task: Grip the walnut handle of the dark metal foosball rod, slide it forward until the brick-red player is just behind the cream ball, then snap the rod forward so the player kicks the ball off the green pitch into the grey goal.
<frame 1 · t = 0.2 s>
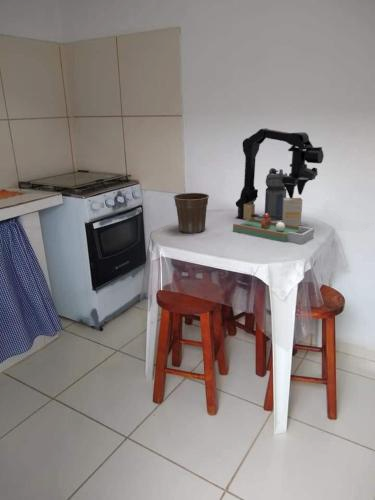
hand: (295, 196, 181), 14 cm above the table, tool pointing down, fingers open, 9 cm apart
beverage bottle: (273, 217, 203), on the table
ball: (280, 226, 172), point 4 cm above the table, touching pitch
plant pot: (191, 230, 185), on the table
pitch: (265, 232, 178), on the table
foosball rod: (256, 215, 178), point 7 cm above the table, slide at 0.0 cm
supplement box: (291, 226, 188), on the table
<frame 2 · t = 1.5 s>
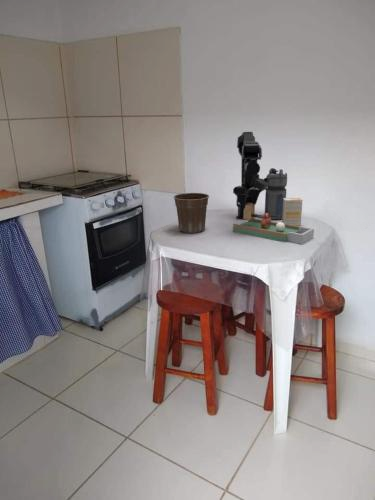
hand: (249, 206, 180), 11 cm above the table, tool pointing down, fingers open, 9 cm apart
nothing on the table moved.
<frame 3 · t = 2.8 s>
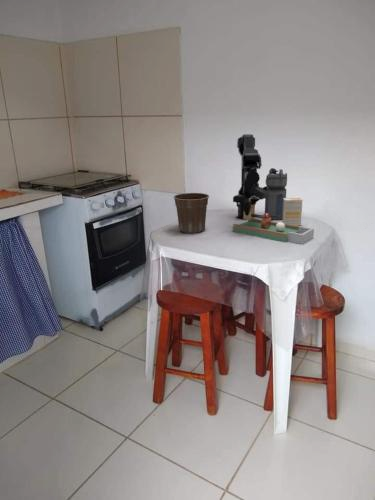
hand: (249, 214, 181), 7 cm above the table, tool pointing down, fingers closed on foosball rod, 3 cm apart
foosball rod: (256, 215, 178), point 7 cm above the table, slide at 0.0 cm, touching gripper
everything else where it was.
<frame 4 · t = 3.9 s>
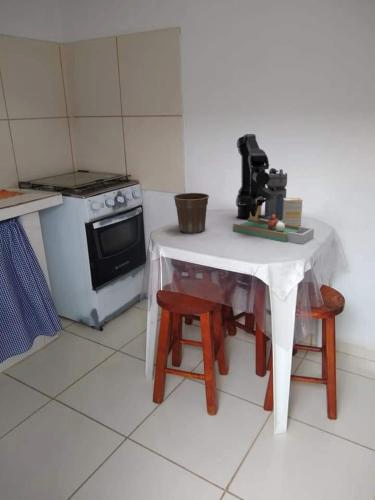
hand: (255, 215, 179), 7 cm above the table, tool pointing down, fingers closed on foosball rod, 3 cm apart
foosball rod: (263, 216, 176), point 7 cm above the table, slide at 3.4 cm, touching gripper
everything else where it was.
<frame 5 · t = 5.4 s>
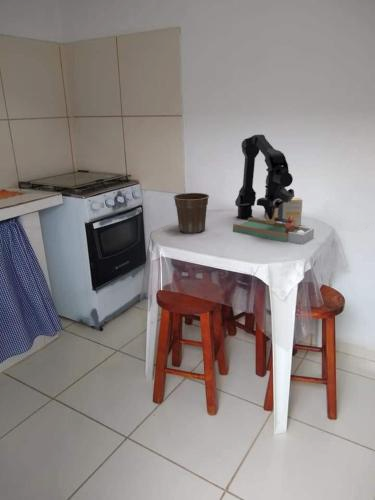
hand: (272, 218, 174), 7 cm above the table, tool pointing down, fingers closed on foosball rod, 3 cm apart
ball: (300, 234, 167), point 2 cm above the table, tilted 66°
foosball rod: (280, 219, 171), point 7 cm above the table, slide at 11.7 cm, touching gripper
everything else where it was.
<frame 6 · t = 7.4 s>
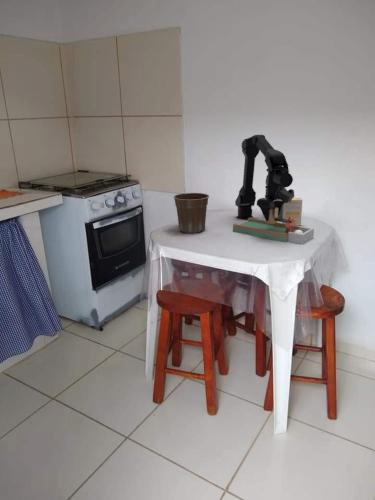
hand: (272, 218, 174), 7 cm above the table, tool pointing down, fingers open, 9 cm apart
ball: (298, 234, 168), point 2 cm above the table, tilted 93°
foosball rod: (280, 219, 171), point 7 cm above the table, slide at 11.7 cm
everything else where it was.
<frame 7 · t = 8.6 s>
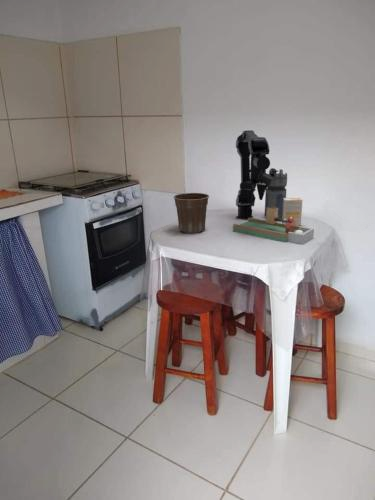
hand: (255, 201, 179), 13 cm above the table, tool pointing down, fingers open, 9 cm apart
ball: (299, 234, 167), point 2 cm above the table, tilted 86°
everything else where it was.
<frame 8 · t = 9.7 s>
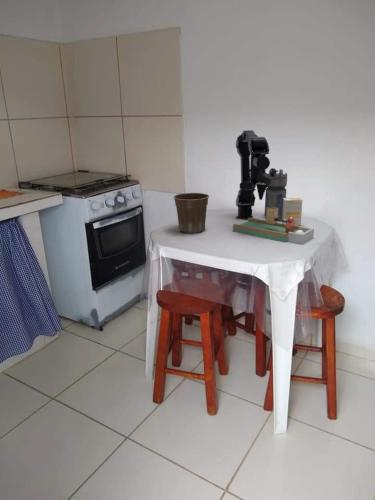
hand: (255, 201, 179), 13 cm above the table, tool pointing down, fingers open, 9 cm apart
ball: (299, 234, 167), point 2 cm above the table, tilted 79°
everything else where it was.
at the end: ball inside the target area (0.3 cm from its centre), point 2.0 cm above the table; foosball rod slide at 11.7 cm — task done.
